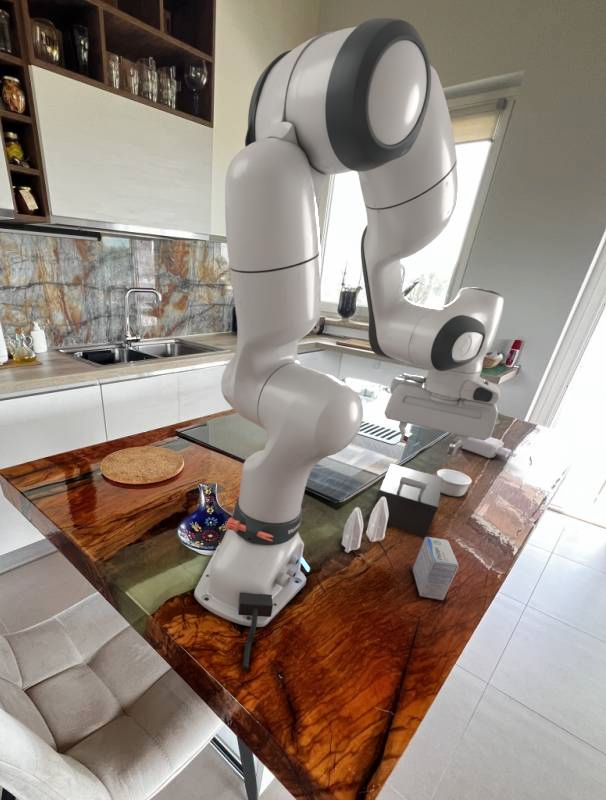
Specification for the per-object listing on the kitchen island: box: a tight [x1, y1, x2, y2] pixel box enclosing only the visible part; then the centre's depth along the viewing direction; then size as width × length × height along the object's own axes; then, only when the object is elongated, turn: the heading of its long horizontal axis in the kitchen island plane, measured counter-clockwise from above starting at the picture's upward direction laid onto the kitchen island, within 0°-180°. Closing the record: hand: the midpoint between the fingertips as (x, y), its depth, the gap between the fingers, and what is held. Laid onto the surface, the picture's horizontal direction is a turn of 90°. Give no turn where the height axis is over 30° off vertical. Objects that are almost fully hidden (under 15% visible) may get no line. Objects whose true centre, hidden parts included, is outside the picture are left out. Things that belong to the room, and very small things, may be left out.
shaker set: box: [341, 497, 389, 553], centre depth 88 cm, size 12×4×11 cm, turn 116°
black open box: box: [373, 492, 437, 538], centre depth 101 cm, size 16×13×8 cm
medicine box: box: [412, 536, 460, 601], centre depth 78 cm, size 8×4×9 cm, turn 168°
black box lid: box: [378, 463, 442, 511], centre depth 97 cm, size 16×13×5 cm
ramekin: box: [436, 468, 473, 497], centre depth 114 cm, size 9×9×4 cm
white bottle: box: [461, 436, 517, 459], centre depth 139 cm, size 5×9×15 cm
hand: (426, 447), depth 87 cm, fingers open, 8 cm apart
